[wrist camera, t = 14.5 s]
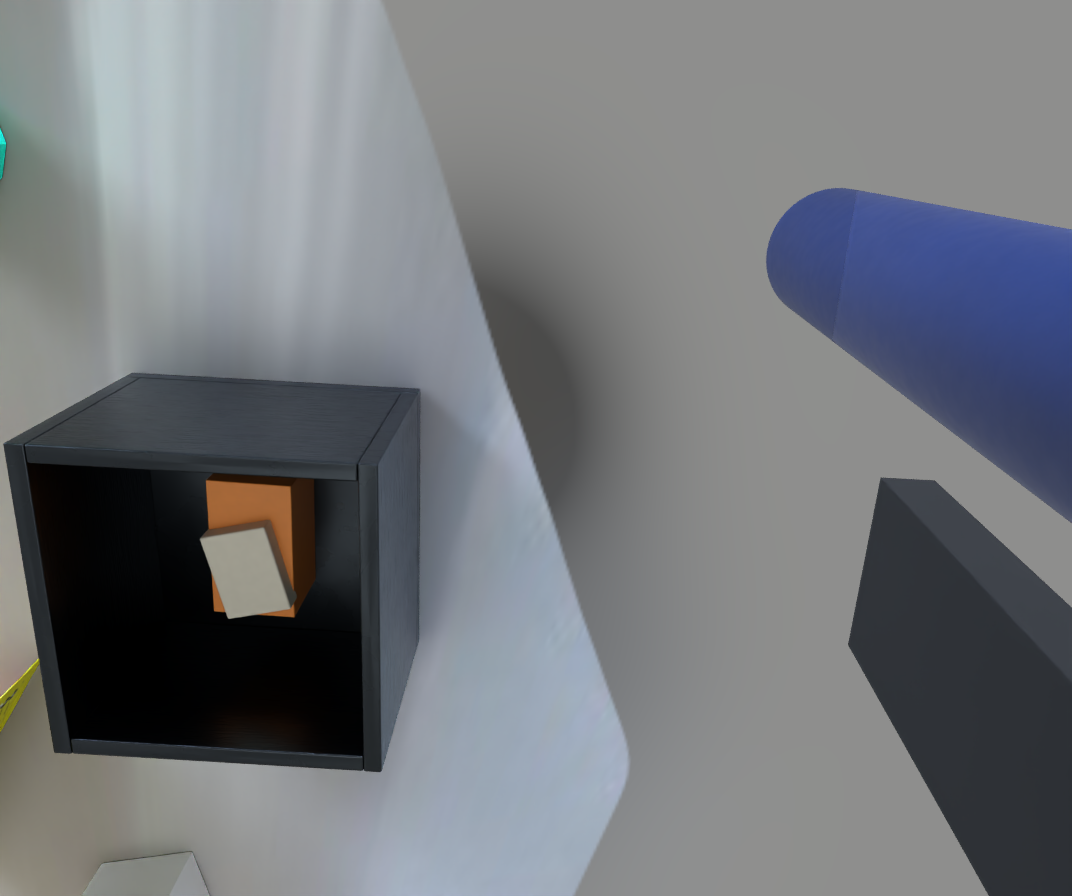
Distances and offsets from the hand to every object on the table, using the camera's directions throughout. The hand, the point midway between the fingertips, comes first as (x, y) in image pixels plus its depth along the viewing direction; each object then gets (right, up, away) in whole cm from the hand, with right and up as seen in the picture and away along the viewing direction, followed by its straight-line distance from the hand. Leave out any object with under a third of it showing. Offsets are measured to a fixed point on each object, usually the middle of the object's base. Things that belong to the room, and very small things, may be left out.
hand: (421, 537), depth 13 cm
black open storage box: (-12, -2, +34) cm, 36 cm away
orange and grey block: (-12, -2, +33) cm, 35 cm away
